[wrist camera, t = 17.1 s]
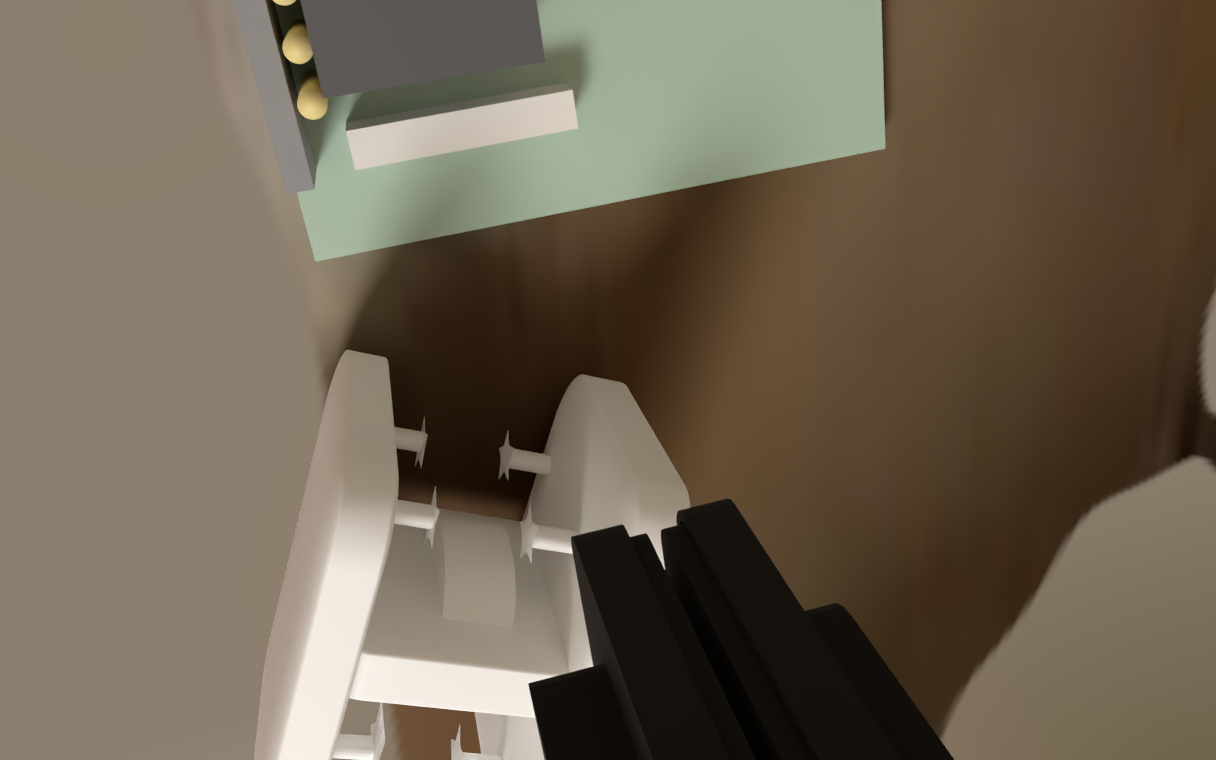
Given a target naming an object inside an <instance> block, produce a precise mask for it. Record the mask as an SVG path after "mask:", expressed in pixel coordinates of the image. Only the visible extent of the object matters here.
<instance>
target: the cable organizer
mask: <svg viewBox="0 0 1216 760" xmlns="http://www.w3.org/2000/svg"><path fill="white" fill-rule="evenodd" d="M427 436H428V435H427V434H426V433H425V416H424V421H423V425H422V429H421V431H415V430H410V429H404V428H399V427H394V418H393V407H392V396H391V385H390V374H389V364H388V360H387V358H385V357H381V356H377V355H372V354H367V353H362V352H357V351H352V350H346V351H345V352H344V353H343V355H342V356H341V358H340V360H339V362H338V365H337V367H336V370H335V373H334V376H333V379H332V382H331V385H330V388H329V392H328V396H327V400H326V404H325V408H324V412H323V416H322V420H321V425H320V429H319V433H318V437H317V441H316V446H315V450H314V454H313V458H312V463H311V467H310V471H309V475H308V480H307V484H306V488H305V493H304V496H303V501H302V505H301V509H300V513H299V517H298V521H297V526H296V530H295V534H294V539H293V543H292V547H291V551H290V555H289V560H288V564H287V568H286V572H285V576H284V581H283V585H282V589H281V593H280V597H279V601H278V606H277V610H276V614H275V618H274V623H273V627H272V631H271V636H270V640H269V645H268V649H267V654H266V660H265V666H264V674H263V682H262V691H261V701H260V709H259V719H258V728H257V737H256V747H255V756H254V760H332V758H339V759H356V760H379V759H380V756H381V753H382V750H383V747H384V744H385V734H384V722H383V710H382V702H383V703H393V704H403V705H413V706H422V707H432V708H442V709H452V710H462V711H472V712H475V716H476V723H477V729H478V735H479V742H480V748H481V754H476V753H465V752H462V750H461V748H460V726H459V730H458V734H457V738H456V741H454V740H453V739H451V755H452V758H451V760H545V759H544V755H543V750H542V745H541V741H540V736H539V732H538V727H537V723H536V718H535V713H534V709H533V704H532V699H531V695H530V690H529V685H528V683H532V682H535V681H539V680H543V679H547V678H551V677H555V676H558V675H562V674H566V673H570V672H574V671H578V670H581V669H585V668H589V667H593V662H592V656H591V651H590V646H589V640H588V635H587V629H586V624H585V618H584V613H583V607H582V602H581V596H580V591H579V585H578V580H577V574H576V569H575V563H574V558H573V552H572V545H571V537H572V536H576V535H580V534H584V533H588V532H592V531H596V530H601V529H605V528H609V527H613V526H617V525H621V524H622V525H624V527H625V528H626V530H627V532H628V535H629V537H632V536H636V535H640V534H644V533H646V534H647V535H648V536H649V538H650V540H651V542H652V544H653V546H654V548H655V550H656V553H657V555H658V557H659V559H660V561H661V563H662V565H663V567H664V569H665V566H664V558H663V551H662V544H661V530H662V529H665V528H669V527H673V526H677V522H676V517H677V512H678V511H679V510H683V509H687V508H690V500H689V495H688V491H687V489H686V487H685V485H684V483H683V481H682V480H681V478H680V476H679V474H678V473H677V471H676V469H675V468H674V466H673V464H672V463H671V461H670V459H669V457H668V456H667V454H666V452H665V451H664V449H663V447H662V445H661V444H660V442H659V440H658V439H657V437H656V435H655V433H654V432H653V430H652V428H651V427H650V425H649V423H648V422H647V420H646V418H645V416H644V415H643V413H642V411H641V410H640V408H639V406H638V404H637V403H636V401H635V399H634V398H633V396H632V394H631V393H630V391H629V389H628V387H627V386H626V385H625V384H624V383H622V382H617V381H612V380H608V379H603V378H598V377H593V376H589V375H584V374H581V375H578V376H577V377H576V378H575V379H574V380H573V381H572V382H571V384H570V385H569V387H568V388H567V390H566V392H565V394H564V396H563V398H562V400H561V402H560V405H559V407H558V410H557V412H556V415H555V418H554V421H553V424H552V428H551V431H550V434H549V437H548V440H547V443H546V447H545V450H544V453H543V454H541V453H536V452H530V451H525V450H519V449H514V448H513V447H511V446H509V432H507V435H506V439H505V443H504V446H502V447H500V448H499V451H500V457H501V461H500V471H499V479H500V477H501V476H502V474H503V473H504V472H505V475H506V477H507V479H508V475H509V468H511V469H517V470H522V471H528V472H534V473H537V475H536V478H535V481H534V484H533V488H532V491H531V494H530V497H529V500H528V503H527V507H526V510H525V513H524V516H523V519H522V521H515V520H509V519H503V518H496V517H490V516H484V515H478V514H472V513H465V512H459V511H453V510H447V509H441V508H436V485H435V490H434V494H433V499H432V503H431V505H428V504H422V503H416V502H410V501H404V500H398V486H399V473H398V462H397V451H396V448H398V449H403V450H409V451H415V452H417V455H416V461H415V466H416V464H417V462H418V460H419V461H420V466H421V467H422V462H423V457H424V452H425V446H426V441H427ZM414 468H415V467H414ZM349 698H351V699H356V700H363V701H373V702H381V704H380V708H379V712H378V716H377V720H376V723H374V724H372V725H371V736H365V735H351V734H339V733H340V729H341V725H342V722H343V718H344V714H345V711H346V707H347V703H348V699H349Z"/></svg>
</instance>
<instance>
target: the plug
mask: <svg viewBox="0 0 1216 760" xmlns="http://www.w3.org/2000/svg"><path fill="white" fill-rule="evenodd" d="M300 1H301V6H302V10H303V14H304V18H305V22H306V27H307V31H308V35H309V39H310V44H311V48H312V52H313V56H314V61H315V65H316V69H317V73H318V78H319V82H320V86H321V90H322V94H323V98H329V97H335V96H341V95H347V94H354V93H360V92H366V91H372V90H378V89H384V88H390V87H396V86H402V85H408V84H414V83H420V82H426V81H432V80H438V79H444V78H451V77H457V76H463V75H469V74H475V73H481V72H487V71H493V70H499V69H505V68H511V67H517V66H523V65H529V64H535V63H541V62H545V56H544V49H543V42H542V35H541V29H540V22H539V15H538V8H537V1H536V0H300Z"/></svg>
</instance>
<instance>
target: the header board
mask: <svg viewBox="0 0 1216 760" xmlns="http://www.w3.org/2000/svg"><path fill="white" fill-rule="evenodd" d="M536 1H537V8H538V15H539V22H540V29H541V35H542V42H543V49H544V56H545V62H541V63H535V64H529V65H523V66H517V67H511V68H505V69H499V70H493V71H487V72H481V73H475V74H469V75H463V76H457V77H451V78H444V79H438V80H432V81H426V82H420V83H414V84H408V85H402V86H396V87H390V88H384V89H378V90H372V91H366V92H360V93H354V94H347V95H341V96H335V97H329V98H323V94H322V90H321V86H320V82H319V78H318V73H317V69H316V65H315V61H314V56H313V52H312V48H311V44H310V39H309V35H308V31H307V27H306V22H305V18H304V14H303V10H302V6H301V1H300V0H234V4H235V7H236V11H237V15H238V18H239V22H240V26H241V29H242V33H243V37H244V40H245V44H246V48H247V51H248V55H249V59H250V62H251V66H252V70H253V73H254V77H255V81H256V84H257V88H258V92H259V95H260V99H261V103H262V106H263V110H264V114H265V117H266V121H267V125H268V128H269V132H270V136H271V139H272V143H273V147H274V150H275V154H276V158H277V161H278V165H279V169H280V172H281V176H282V180H283V183H284V187H285V190H286V194H292V193H297V195H298V198H299V202H300V206H301V210H302V213H303V217H304V221H305V225H306V228H307V232H308V236H309V239H310V243H311V247H312V251H313V254H314V258H315V262H316V261H321V260H326V259H331V258H336V257H341V256H346V255H351V254H356V253H361V252H366V251H371V250H376V249H381V248H386V247H391V246H397V245H402V244H407V243H412V242H417V241H422V240H427V239H432V238H437V237H442V236H447V235H452V234H457V233H462V232H467V231H472V230H477V229H482V228H487V227H492V226H497V225H502V224H507V223H512V222H518V221H523V220H528V219H533V218H538V217H543V216H548V215H553V214H558V213H563V212H568V211H573V210H578V209H583V208H588V207H593V206H598V205H603V204H608V203H613V202H618V201H623V200H628V199H633V198H639V197H644V196H649V195H654V194H659V193H664V192H669V191H674V190H679V189H684V188H689V187H694V186H699V185H704V184H709V183H714V182H719V181H724V180H729V179H734V178H739V177H744V176H749V175H754V174H760V173H765V172H770V171H775V170H780V169H785V168H790V167H795V166H800V165H805V164H810V163H815V162H820V161H825V160H830V159H835V158H840V157H845V156H850V155H855V154H860V153H865V152H870V151H875V150H881V149H885V118H884V80H883V41H882V3H881V0H536Z"/></svg>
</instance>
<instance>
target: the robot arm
mask: <svg viewBox="0 0 1216 760" xmlns="http://www.w3.org/2000/svg"><path fill="white" fill-rule="evenodd" d="M676 522H677V526H673V527H669V528H665V529H662V530H661V544H662V551H663V558H664V566H665V569H664V567H663V565H662V563H661V561H660V559H659V557H658V555H657V553H656V550H655V548H654V546H653V544H652V542H651V540H650V538H649V536H648V535H647V534H646V533H644V534H640V535H636V536H632V537H629V535H628V532H627V530H626V528H625V527H624V525H622V524H621V525H617V526H613V527H609V528H605V529H601V530H596V531H592V532H588V533H584V534H580V535H576V536H572V537H571V545H572V552H573V558H574V563H575V569H576V574H577V580H578V585H579V591H580V596H581V602H582V607H583V613H584V618H585V624H586V629H587V635H588V640H589V646H590V651H591V656H592V662H593V667H589V668H585V669H581V670H578V671H574V672H570V673H566V674H562V675H558V676H555V677H551V678H547V679H543V680H539V681H535V682H532V683H528V685H529V690H530V695H531V699H532V704H533V709H534V713H535V718H536V723H537V727H538V732H539V736H540V741H541V745H542V750H543V755H544V759H545V760H954V759H953V757H952V756H951V754H950V753H949V752H948V750H947V749H946V748H945V746H944V745H943V743H942V742H941V741H940V739H939V738H938V736H937V735H936V734H935V732H934V731H933V729H932V728H931V727H930V725H929V724H928V722H927V721H926V720H925V718H924V717H923V715H922V714H921V713H920V711H919V710H918V708H917V707H916V706H915V704H914V703H913V701H912V700H911V699H910V697H909V696H908V694H907V693H906V692H905V690H904V689H903V687H902V686H901V685H900V683H899V682H898V680H897V679H896V678H895V676H894V675H893V673H892V672H891V671H890V669H889V668H888V666H887V665H886V664H885V662H884V661H883V659H882V658H881V657H880V655H879V654H878V652H877V651H876V650H875V648H874V647H873V645H872V644H871V643H870V641H869V640H868V638H867V637H866V636H865V634H864V633H863V631H862V630H861V629H860V627H859V626H858V624H857V623H856V622H855V620H854V619H853V617H852V616H851V615H850V614H849V613H848V611H847V610H846V609H845V608H844V607H843V606H841V605H839V604H837V603H834V604H830V605H826V606H823V607H819V608H815V609H811V610H807V611H804V610H803V608H802V607H801V605H800V604H799V602H798V600H797V599H796V597H795V596H794V594H793V593H792V591H791V590H790V588H789V587H788V585H787V584H786V582H785V581H784V579H783V577H782V576H781V574H780V573H779V571H778V570H777V568H776V567H775V565H774V564H773V562H772V561H771V559H770V558H769V556H768V555H767V553H766V551H765V550H764V548H763V547H762V545H761V544H760V542H759V541H758V539H757V538H756V536H755V535H754V533H753V532H752V530H751V528H750V527H749V525H748V524H747V522H746V521H745V519H744V518H743V516H742V515H741V513H740V512H739V510H738V509H737V507H736V505H735V504H734V503H733V502H732V500H731V499H724V500H720V501H716V502H712V503H708V504H704V505H699V506H695V507H691V508H687V509H683V510H679V511H678V512H677V517H676Z"/></svg>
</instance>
